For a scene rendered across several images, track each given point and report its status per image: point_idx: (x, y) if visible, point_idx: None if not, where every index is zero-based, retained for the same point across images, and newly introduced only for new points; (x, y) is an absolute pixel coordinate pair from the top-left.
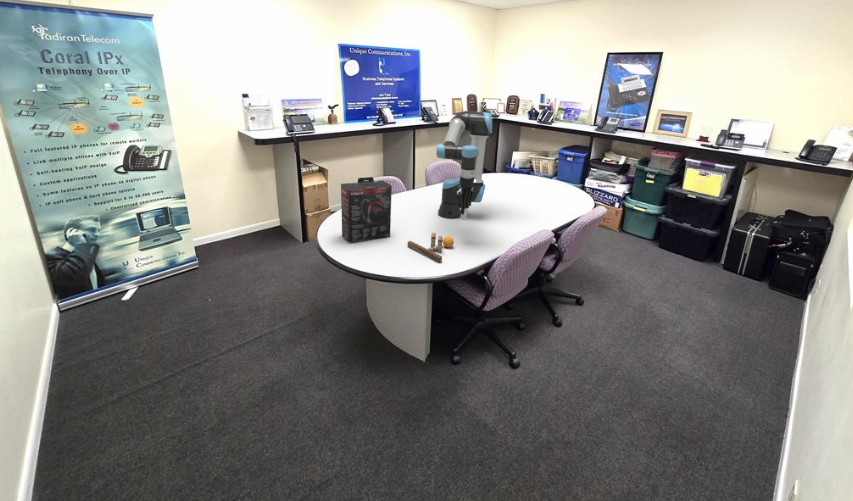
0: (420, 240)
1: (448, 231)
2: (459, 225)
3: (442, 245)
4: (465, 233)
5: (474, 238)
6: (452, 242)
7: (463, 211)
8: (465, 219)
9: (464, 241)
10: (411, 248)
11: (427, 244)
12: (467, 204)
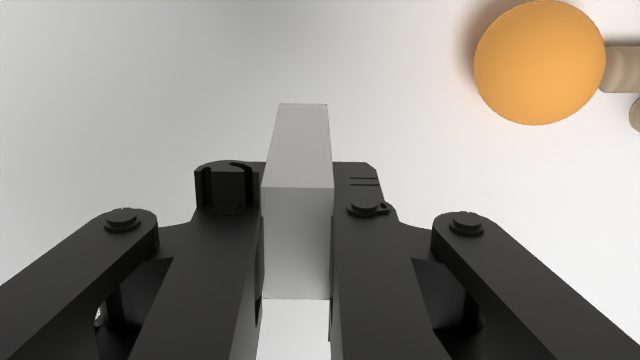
0: None
1: None
2: None
3: (620, 56)
4: (122, 177)
5: (128, 38)
6: (549, 3)
7: (350, 187)
8: (293, 105)
9: (276, 47)
10: None
11: (601, 201)
12: (238, 246)
